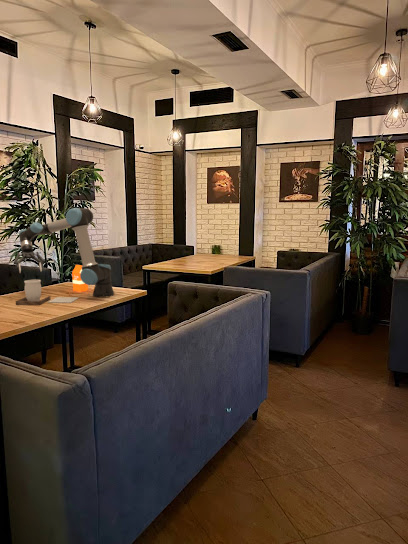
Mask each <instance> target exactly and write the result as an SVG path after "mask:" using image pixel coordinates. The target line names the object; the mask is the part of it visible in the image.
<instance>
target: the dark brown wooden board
mask: <svg viewBox="0 0 408 544" xmlns="http://www.w3.org/2000/svg"><path fill="white" fill-rule="evenodd" d="M51 300H52V298H51V296H49V295H48V296H47V297H44V298H42V299H40V301H28V300H27V298H26V296H24V297H22V298H19V299H18V300H15V305H16V306H40V305H43V304H44V303H48V302H49V301H51Z"/></svg>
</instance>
